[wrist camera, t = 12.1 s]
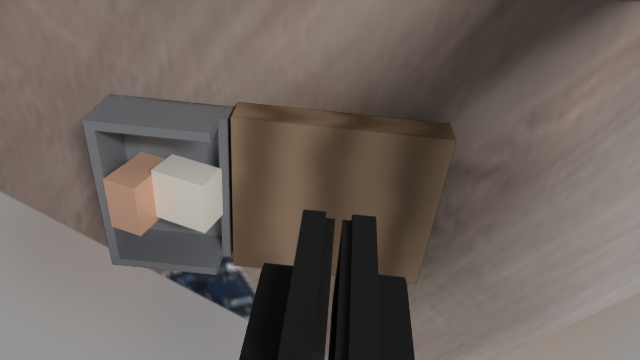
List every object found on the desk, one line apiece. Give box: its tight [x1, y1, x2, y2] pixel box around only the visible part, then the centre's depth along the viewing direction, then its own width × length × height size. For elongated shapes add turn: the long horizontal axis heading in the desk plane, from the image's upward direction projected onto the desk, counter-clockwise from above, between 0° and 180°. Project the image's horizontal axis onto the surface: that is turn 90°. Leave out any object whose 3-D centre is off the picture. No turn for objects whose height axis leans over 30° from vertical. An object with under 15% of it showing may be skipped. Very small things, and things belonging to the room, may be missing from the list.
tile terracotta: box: [103, 152, 165, 236], centre depth 42 cm, size 5×5×3 cm
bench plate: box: [231, 102, 456, 284], centre depth 43 cm, size 18×16×3 cm
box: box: [82, 94, 234, 275], centre depth 43 cm, size 11×15×5 cm
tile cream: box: [151, 154, 223, 233], centre depth 42 cm, size 5×5×3 cm
